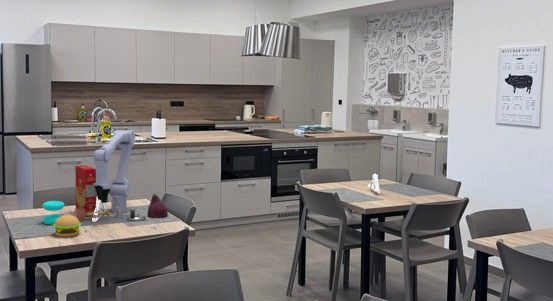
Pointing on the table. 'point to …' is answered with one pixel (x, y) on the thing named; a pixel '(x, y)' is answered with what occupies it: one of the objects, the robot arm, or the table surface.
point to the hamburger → (67, 226)
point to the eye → (118, 212)
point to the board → (106, 220)
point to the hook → (87, 214)
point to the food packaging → (85, 188)
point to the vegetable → (157, 208)
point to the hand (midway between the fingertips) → (102, 201)
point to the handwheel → (135, 216)
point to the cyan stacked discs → (52, 207)
